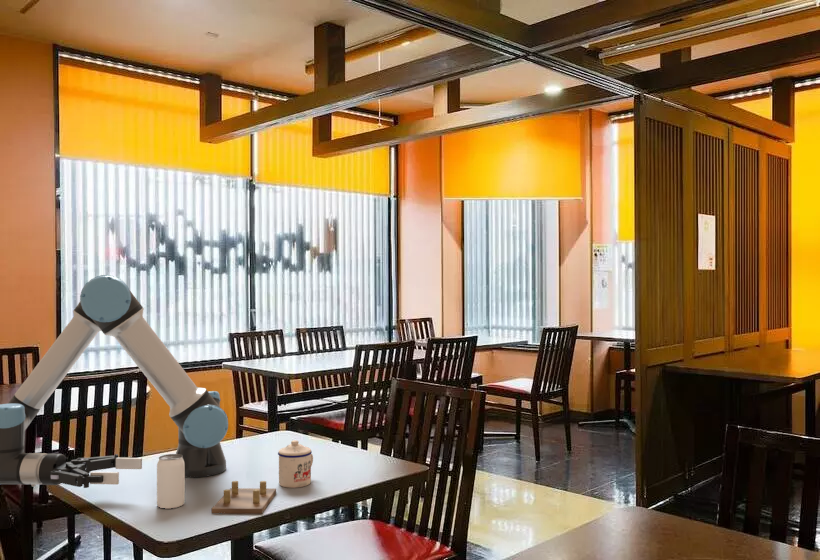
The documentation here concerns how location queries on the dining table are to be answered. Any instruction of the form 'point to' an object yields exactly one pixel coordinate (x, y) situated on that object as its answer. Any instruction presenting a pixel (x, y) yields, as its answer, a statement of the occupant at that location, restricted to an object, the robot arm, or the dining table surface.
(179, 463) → the can
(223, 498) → the pin tray
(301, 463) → the teacup with lid
